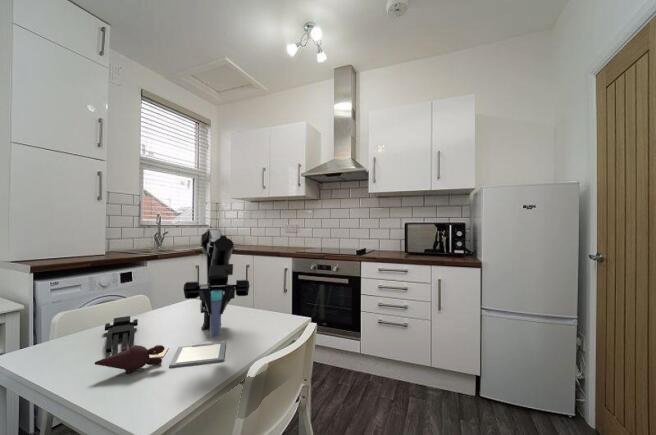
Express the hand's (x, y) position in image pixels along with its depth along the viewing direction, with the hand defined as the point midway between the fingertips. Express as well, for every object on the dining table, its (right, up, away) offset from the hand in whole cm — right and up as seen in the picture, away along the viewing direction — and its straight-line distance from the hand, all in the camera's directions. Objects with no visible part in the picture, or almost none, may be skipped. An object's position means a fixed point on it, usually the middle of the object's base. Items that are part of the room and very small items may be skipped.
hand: (215, 314), depth 79 cm
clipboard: (-6, -13, +3) cm, 15 cm away
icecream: (-20, -13, -7) cm, 25 cm away
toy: (-35, -13, +9) cm, 38 cm away
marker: (-1, -7, +1) cm, 7 cm away
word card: (-19, -13, +3) cm, 23 cm away
